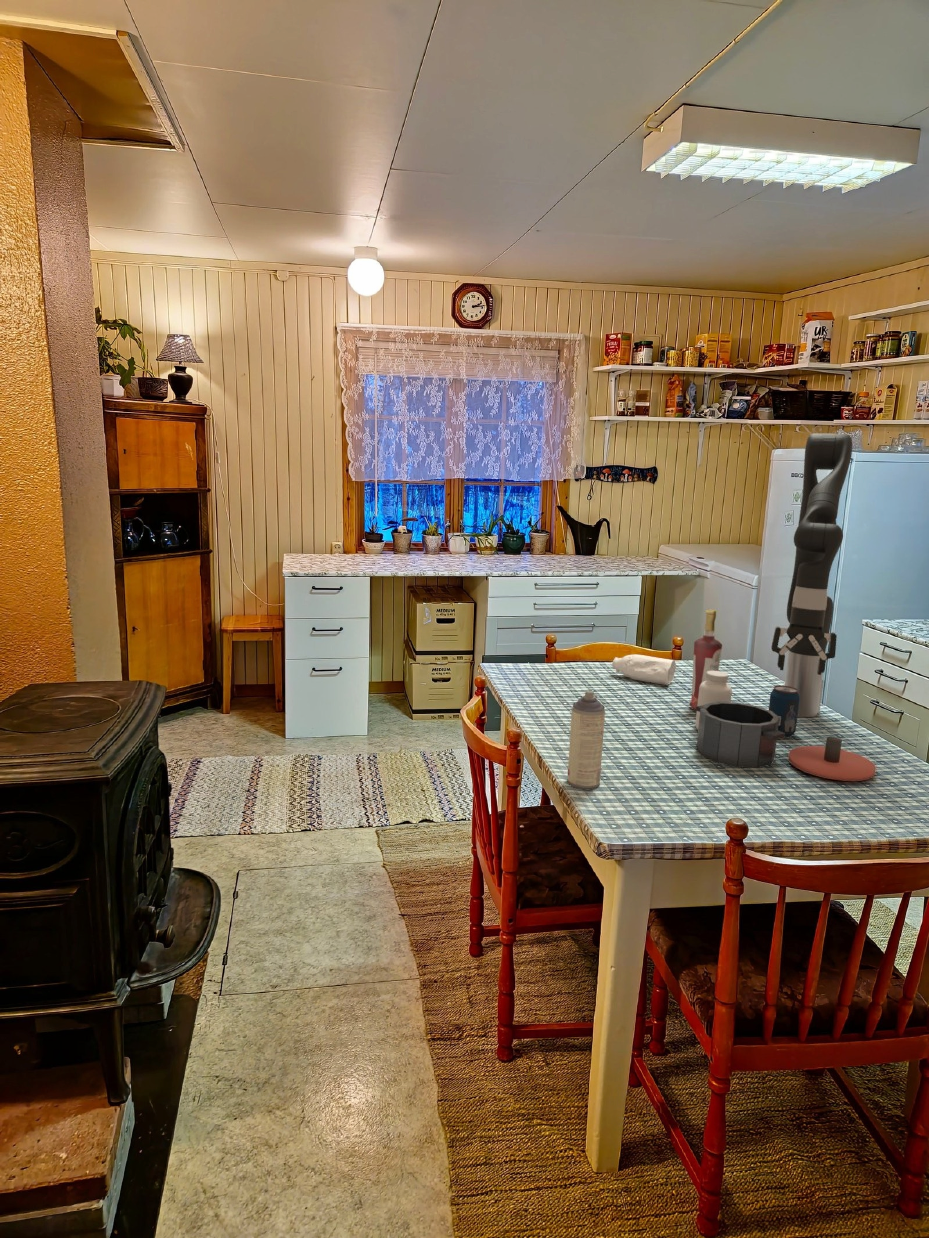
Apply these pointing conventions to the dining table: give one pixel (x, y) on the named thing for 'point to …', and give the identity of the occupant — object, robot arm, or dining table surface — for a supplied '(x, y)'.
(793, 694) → the soda can
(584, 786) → the aerosol can
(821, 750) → the lid
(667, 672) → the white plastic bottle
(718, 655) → the liquor
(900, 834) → the dining table surface
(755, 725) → the pot
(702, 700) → the pill bottle
